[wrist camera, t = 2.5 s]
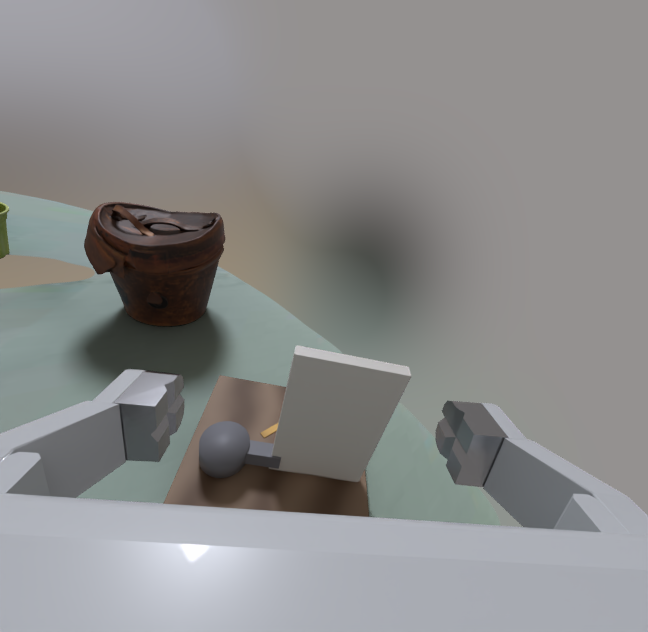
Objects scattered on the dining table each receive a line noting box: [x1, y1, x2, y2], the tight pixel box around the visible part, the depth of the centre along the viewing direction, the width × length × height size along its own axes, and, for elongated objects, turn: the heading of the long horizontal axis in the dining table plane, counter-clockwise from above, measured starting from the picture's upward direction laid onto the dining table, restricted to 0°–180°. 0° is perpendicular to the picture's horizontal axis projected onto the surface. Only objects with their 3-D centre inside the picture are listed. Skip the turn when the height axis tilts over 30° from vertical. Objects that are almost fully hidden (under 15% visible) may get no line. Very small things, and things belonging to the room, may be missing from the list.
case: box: [84, 202, 225, 326], centre depth 52 cm, size 18×20×18 cm
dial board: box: [163, 375, 369, 517], centre depth 38 cm, size 20×18×2 cm
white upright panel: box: [199, 345, 411, 482], centre depth 30 cm, size 18×5×16 cm, turn 89°
